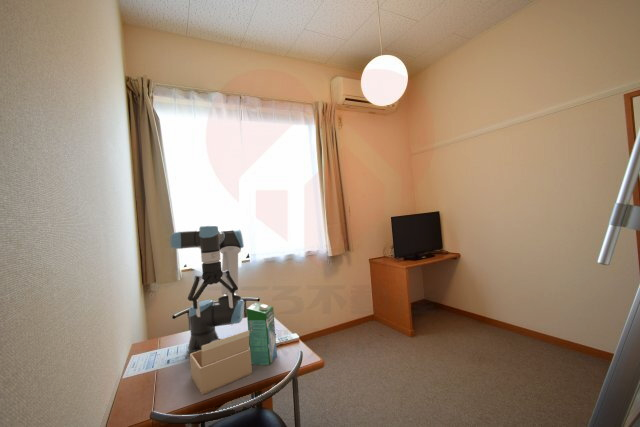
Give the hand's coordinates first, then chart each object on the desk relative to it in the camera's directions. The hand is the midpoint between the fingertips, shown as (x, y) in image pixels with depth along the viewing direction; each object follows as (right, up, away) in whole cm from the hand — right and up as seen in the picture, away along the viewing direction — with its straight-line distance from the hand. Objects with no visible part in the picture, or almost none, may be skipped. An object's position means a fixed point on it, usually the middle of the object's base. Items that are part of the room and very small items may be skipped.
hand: (215, 311), depth 120 cm
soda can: (+2, -26, 0) cm, 26 cm away
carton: (+3, -26, -2) cm, 26 cm away
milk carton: (+19, -25, +9) cm, 33 cm away
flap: (+8, -11, -9) cm, 16 cm away
